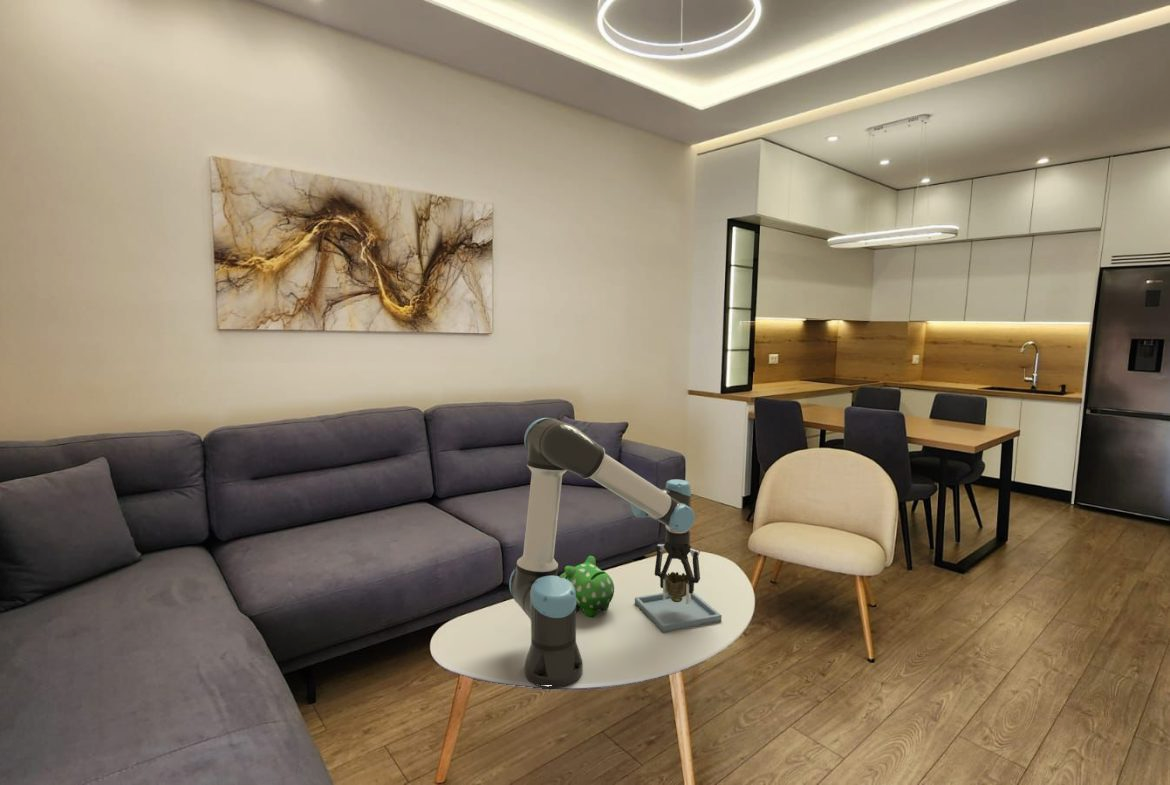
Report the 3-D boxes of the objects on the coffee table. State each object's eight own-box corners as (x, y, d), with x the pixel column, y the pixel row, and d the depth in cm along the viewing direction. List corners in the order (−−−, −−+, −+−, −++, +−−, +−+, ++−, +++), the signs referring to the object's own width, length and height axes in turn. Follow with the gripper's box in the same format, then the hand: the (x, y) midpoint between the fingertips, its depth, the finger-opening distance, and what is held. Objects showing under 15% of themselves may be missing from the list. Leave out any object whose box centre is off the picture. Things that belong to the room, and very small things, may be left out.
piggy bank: (580, 593, 196) (580, 550, 195) (622, 609, 185) (622, 564, 183) (551, 607, 186) (550, 563, 184) (594, 626, 174) (594, 578, 173)
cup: (661, 602, 181) (661, 578, 180) (669, 593, 187) (669, 569, 186) (684, 608, 177) (684, 582, 177) (691, 598, 184) (691, 574, 183)
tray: (663, 632, 170) (663, 626, 170) (634, 603, 189) (634, 597, 188) (721, 621, 177) (721, 615, 176) (688, 594, 195) (688, 588, 195)
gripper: (711, 530, 179) (710, 601, 181) (651, 521, 188) (651, 589, 190) (706, 537, 173) (704, 611, 175) (643, 528, 181) (643, 598, 183)
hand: (676, 599), depth 182 cm, fingers closed on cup, 7 cm apart
